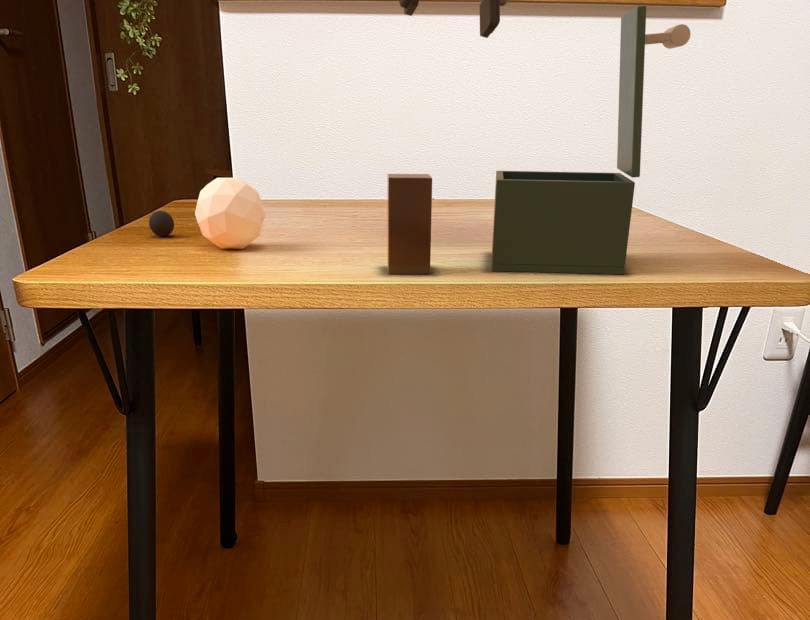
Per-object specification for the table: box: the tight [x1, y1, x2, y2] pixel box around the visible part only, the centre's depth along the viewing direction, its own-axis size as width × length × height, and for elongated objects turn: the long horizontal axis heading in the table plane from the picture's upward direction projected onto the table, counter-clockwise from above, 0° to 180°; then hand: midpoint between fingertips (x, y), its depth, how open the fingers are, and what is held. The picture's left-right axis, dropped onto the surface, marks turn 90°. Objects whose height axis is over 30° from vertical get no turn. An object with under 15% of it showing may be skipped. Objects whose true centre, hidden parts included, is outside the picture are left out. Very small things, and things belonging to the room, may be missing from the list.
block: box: [386, 173, 433, 275], centre depth 88 cm, size 4×4×9 cm
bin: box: [491, 170, 636, 275], centre depth 93 cm, size 13×11×9 cm
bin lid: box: [616, 4, 691, 179], centre depth 86 cm, size 14×11×5 cm
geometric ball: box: [194, 177, 266, 250], centre depth 100 cm, size 8×8×8 cm
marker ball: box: [148, 210, 175, 237], centre depth 108 cm, size 3×3×3 cm
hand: (450, 21), depth 88 cm, fingers open, 8 cm apart
